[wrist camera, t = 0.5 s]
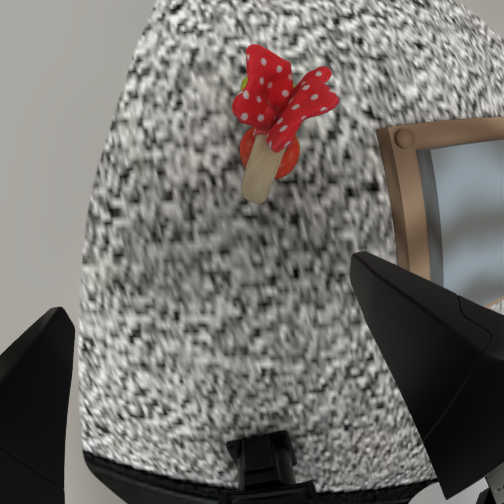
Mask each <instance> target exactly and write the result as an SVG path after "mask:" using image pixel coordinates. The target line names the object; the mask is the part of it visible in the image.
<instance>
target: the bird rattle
mask: <svg viewBox="0 0 504 504" xmlns="http://www.w3.org/2000/svg"><path fill="white" fill-rule="evenodd" d="M246 60H247V77H246V78H245V79H244V80H243V81H242V85H241V92H239V93H238V95H237V96H236V97H235V99H234V101H233V104H232V111H233V113H234V115H235V116H236V117H237V119H238V120H239V122H241V123H243V124H246V125H250V126H253V127H251V128H250V129H249V130H248V131H247V132H246V133H245V134H244V136H243V138H242V140H241V143H240V157H241V160H242V163H243V164H244V166H245V168H246V170H245V174H244V177H243V181H242V188H241V191H242V195H243V197H244V198H245V199H247V200H249V201H251V202H254V203H258V204H260V203H263V202H264V201H265V200H266V199H267V196H268V194H269V191H270V189H271V186H272V184H273V181H274V179H279V178H282V177H284V176H286V175H287V174H289V173H290V172H291V171H292V170H293V169H294V167H295V166H296V164H297V161H298V159H299V155H300V146H299V142H298V139H297V137H296V135H295V134H296V132H297V130H298V129H299V127H300V125H301V123H302V122H303V121H304V120H305V119H308V118H311V117H315V116H318V115H321V114H324V113H327V112H328V111H331V110H332V109H334V108H335V107H336V106H337V105H338V103H339V99H338V97H337V95H336V94H335V92H334V91H333V90H332V89H331V88H330V87H328V86H327V85H325V82H327V81H328V80H329V78H330V77H331V75H332V71H331V70H330V69H329V68H327V67H324V66H323V67H319V68H317V69H315V70H312V71H310V72H308V73H307V74H306V75H305V76H304V77H303V78H302V80H301V81H300V82H299V83H298V84H297V85H296V86H295V85H294V84H293V79H292V71H291V63H290V62H289V61H286V60H284V59H282V58H280V57H279V56H277V55H276V54H274V53H273V52H271V51H270V50H268V49H266V48H264V47H263V46H260V45H257V44H252V45H250V46H248V47H247V49H246Z"/></svg>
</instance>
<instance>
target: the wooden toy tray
mask: <svg viewBox="0 0 504 504" xmlns="http://www.w3.org/2000/svg"><path fill="white" fill-rule="evenodd" d="M376 132H377V136H378V140H379V145H380V149H381V154H382V159H383V163H384V168H385V174H386V179H387V184H388V190H389V196H390V202H391V209H392V215H393V222H394V230H395V238H396V246H397V255H398V266H399V267H401V268H404V269H406V270H408V271H410V272H412V273H414V274H417V275H419V276H421V277H423V278H425V279H427V280H429V281H431V282H433V283H436V284H438V285H440V286H442V287H444V288H446V289H448V290H450V291H452V292H454V293H456V294H457V296H458V295H460V296H462V297H464V298H466V299H468V300H471V301H473V302H475V303H477V304H479V305H481V306H483V307H486V308H488V307H489V306H491V305H493V304H495V303H497V302H499V301H500V300H502V299H504V117H490V118H471V119H457V120H445V121H435V122H425V123H416V124H408V125H400V126H392V127H386V128H382V129H377V130H376Z"/></svg>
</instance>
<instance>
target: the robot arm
mask: <svg viewBox="0 0 504 504" xmlns="http://www.w3.org/2000/svg"><path fill="white" fill-rule="evenodd" d="M350 281H351V285H352V287H353V290H354V292H355V295H356V297H357V300H358V302H359V305H360V308H361V310H362V313H363V315H364V318H365V321H366V323H367V325H368V327H369V329H370V331H371V333H372V335H373V337H374V339H375V341H376V343H377V345H378V347H379V349H380V351H381V353H382V355H383V357H384V359H385V361H386V363H387V365H388V367H389V369H390V371H391V373H392V375H393V378H394V380H395V382H396V384H397V386H398V388H399V390H400V392H401V394H402V397H403V399H404V401H405V403H406V405H407V407H408V410H409V412H410V414H411V416H412V418H413V421H414V423H415V425H416V427H417V430H418V432H419V434H420V437H421V439H422V441H423V444H424V446H425V449H426V451H427V454H428V456H429V458H430V461H431V463H432V466H433V468H434V471H435V473H436V476H437V478H438V481H439V483H440V486H441V489H442V491H443V494H444V497H445V498H446V500H448V499H449V498H451V497H453V496H455V495H456V494H458V493H460V492H462V491H463V490H465V489H467V488H468V487H470V486H471V485H473V484H475V483H476V482H478V481H479V480H481V479H482V478H484V477H485V479H486V481H487V484H488V486H489V488H487V489H486V490H484V491H483V492H481V493H480V494H479V497H478V500H477V502H476V504H504V315H502V314H500V313H497V312H495V311H493V310H490V309H488V308H486V307H483V306H481V305H479V304H477V303H475V302H473V301H471V300H468V299H466V298H464V297H462V296H460V295H458V296H457V294H456V293H454V292H452V291H450V290H448V289H446V288H444V287H442V286H440V285H438V284H436V283H433V282H431V281H429V280H427V279H425V278H423V277H421V276H419V275H417V274H414V273H412V272H410V271H408V270H406V269H404V268H401V267H399V266H397V265H395V264H393V263H391V262H388V261H386V260H384V259H382V258H379V257H377V256H375V255H373V254H371V253H368V252H366V251H362V252H357V253H353V254H352V256H351V266H350ZM74 341H75V327H74V325H73V323H72V321H71V320H70V318H69V316H68V315H67V313H66V311H65V310H64V309H63V308H62V307H54V308H51V309H49V310H48V311H47V312H46V313H45V314H44V315H43V316H41V317H40V318H39V319H38V320H37V321H36V322H35V323H34V324H33V325H32V326H30V327H29V328H28V329H27V330H26V331H25V332H24V333H23V334H22V335H21V336H20V337H19V338H18V339H17V340H15V341H14V342H13V343H12V344H11V345H10V346H9V347H8V348H7V349H6V350H5V351H4V352H3V353H2V354H1V355H0V504H65V494H64V462H65V461H64V460H65V438H66V425H67V414H68V404H69V395H70V387H71V380H72V370H73V355H74ZM283 435H284V436H283ZM227 449H228V451H229V453H230V455H231V457H232V458H233V460H234V462H235V464H236V466H237V471H238V490H237V491H227V490H224V491H222V493H221V497H220V498H219V499H218V504H320V501H319V498H318V496H317V493H316V490H315V487H314V484H313V482H312V480H309V481H306V482H302V483H296V481H295V476H294V471H293V466H294V465H296V464H297V461H296V458H295V454H294V451H293V448H292V445H291V442H290V438H289V435H288V432H286V431H281V432H277V433H272V434H268V435H263V436H259V437H254V438H249V439H243V440H238V441H232V442H228V443H227Z"/></svg>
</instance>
